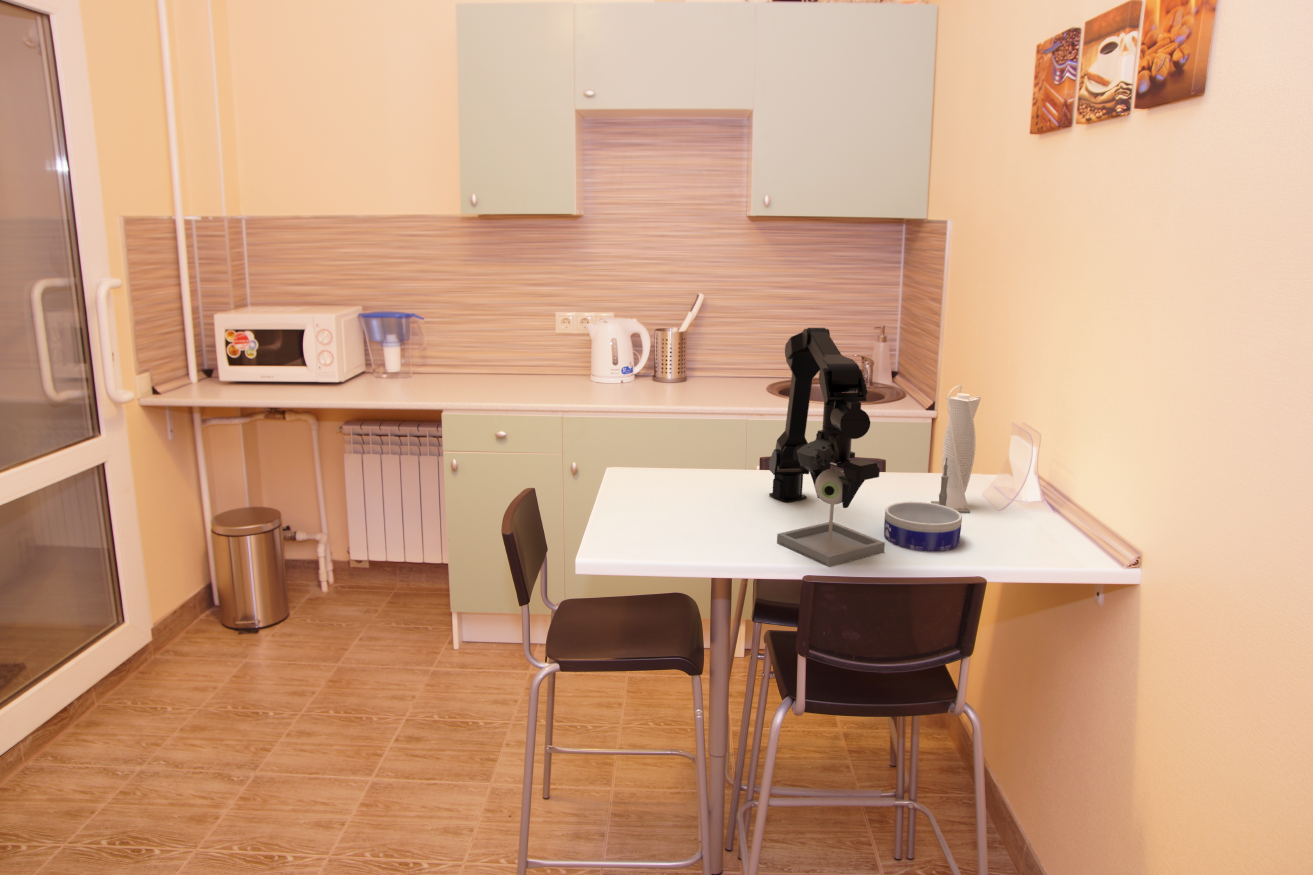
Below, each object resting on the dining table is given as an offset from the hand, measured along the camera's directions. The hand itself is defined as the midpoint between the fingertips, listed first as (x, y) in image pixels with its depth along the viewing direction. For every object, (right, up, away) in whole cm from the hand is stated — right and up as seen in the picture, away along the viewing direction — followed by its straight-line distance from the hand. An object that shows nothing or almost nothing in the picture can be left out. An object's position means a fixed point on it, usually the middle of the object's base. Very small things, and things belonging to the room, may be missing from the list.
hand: (832, 502), depth 181 cm
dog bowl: (+20, -8, +8) cm, 23 cm away
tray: (0, -9, +2) cm, 9 cm away
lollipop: (0, -8, +2) cm, 8 cm away
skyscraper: (+33, -3, +29) cm, 44 cm away
